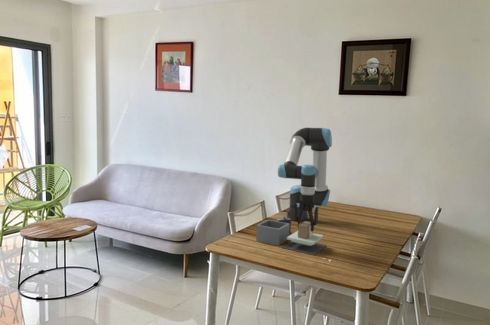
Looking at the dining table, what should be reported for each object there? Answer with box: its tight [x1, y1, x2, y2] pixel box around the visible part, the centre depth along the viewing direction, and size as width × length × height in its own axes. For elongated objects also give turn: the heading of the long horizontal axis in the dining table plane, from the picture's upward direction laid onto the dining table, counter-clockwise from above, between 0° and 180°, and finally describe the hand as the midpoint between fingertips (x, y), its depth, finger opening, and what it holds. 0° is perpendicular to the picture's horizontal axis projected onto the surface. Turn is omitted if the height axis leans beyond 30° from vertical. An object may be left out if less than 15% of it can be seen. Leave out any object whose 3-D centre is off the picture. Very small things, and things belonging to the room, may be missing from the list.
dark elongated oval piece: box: [276, 215, 292, 235], centre depth 237 cm, size 9×3×11 cm, turn 109°
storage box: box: [255, 219, 290, 246], centre depth 225 cm, size 14×14×9 cm
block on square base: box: [286, 220, 324, 246], centre depth 213 cm, size 15×15×10 cm
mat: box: [282, 241, 327, 256], centre depth 214 cm, size 18×18×1 cm
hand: (305, 235), depth 214 cm, fingers closed on block on square base, 5 cm apart
